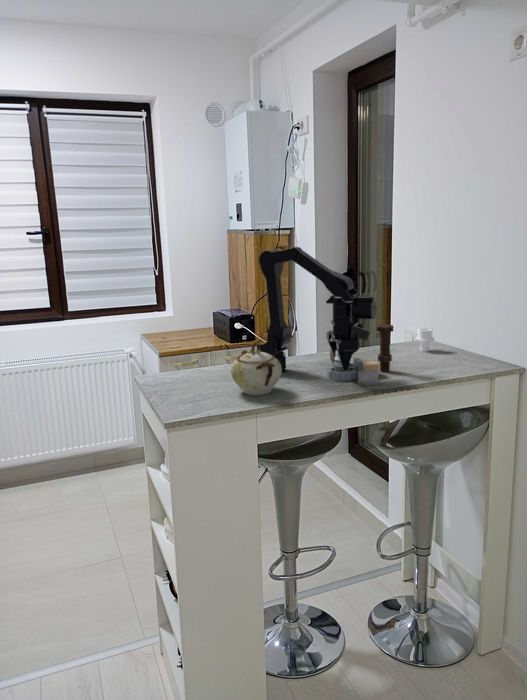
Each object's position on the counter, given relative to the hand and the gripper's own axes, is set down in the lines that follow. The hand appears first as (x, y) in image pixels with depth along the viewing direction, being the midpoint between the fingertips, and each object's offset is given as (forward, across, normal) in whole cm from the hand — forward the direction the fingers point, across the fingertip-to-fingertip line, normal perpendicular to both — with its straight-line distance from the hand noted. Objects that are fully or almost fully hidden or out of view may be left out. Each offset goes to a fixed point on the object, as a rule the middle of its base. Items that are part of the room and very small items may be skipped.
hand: (342, 366), depth 186 cm
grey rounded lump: (+3, -8, -6) cm, 11 cm away
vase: (+4, +16, -3) cm, 17 cm away
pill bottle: (+4, 0, 0) cm, 4 cm away
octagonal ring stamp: (+3, 0, -3) cm, 5 cm away
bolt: (+4, +4, -15) cm, 16 cm away
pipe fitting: (+4, +29, -38) cm, 48 cm away
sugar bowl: (+4, -10, +28) cm, 30 cm away
